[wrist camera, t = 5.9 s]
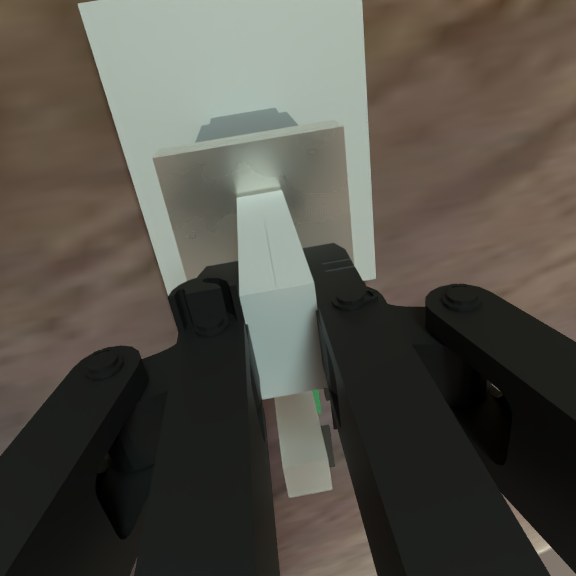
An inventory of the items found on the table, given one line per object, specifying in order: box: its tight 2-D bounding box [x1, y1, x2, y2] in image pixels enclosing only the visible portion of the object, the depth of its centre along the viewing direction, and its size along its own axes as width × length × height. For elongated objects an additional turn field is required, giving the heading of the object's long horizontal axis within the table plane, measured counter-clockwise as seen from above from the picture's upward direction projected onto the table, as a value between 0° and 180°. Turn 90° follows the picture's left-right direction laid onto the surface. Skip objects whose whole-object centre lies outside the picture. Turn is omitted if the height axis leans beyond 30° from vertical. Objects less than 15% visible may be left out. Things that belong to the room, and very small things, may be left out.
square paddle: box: [152, 120, 354, 401], centre depth 21 cm, size 6×12×10 cm, turn 8°
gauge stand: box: [78, 0, 376, 498], centre depth 20 cm, size 14×18×18 cm
